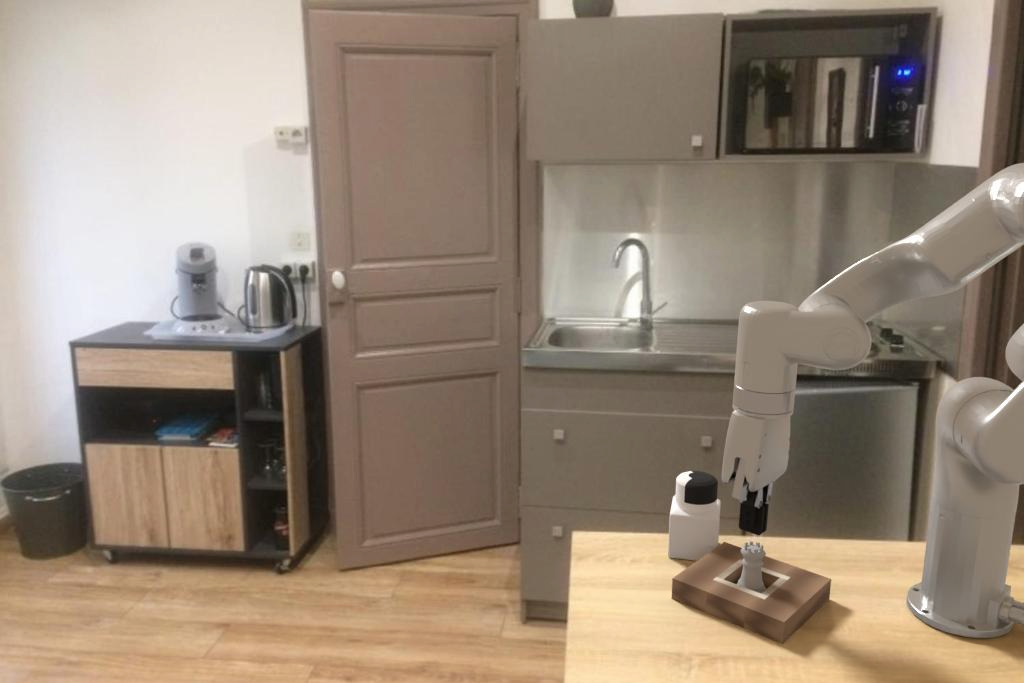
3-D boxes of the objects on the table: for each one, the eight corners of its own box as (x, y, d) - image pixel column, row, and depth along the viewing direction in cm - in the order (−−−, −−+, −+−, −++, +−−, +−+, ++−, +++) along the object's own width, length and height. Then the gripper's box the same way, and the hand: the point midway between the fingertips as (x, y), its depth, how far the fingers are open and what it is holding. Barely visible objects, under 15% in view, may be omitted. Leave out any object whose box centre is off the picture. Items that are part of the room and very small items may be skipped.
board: (829, 598, 119) (831, 578, 118) (782, 643, 109) (784, 622, 108) (723, 560, 130) (724, 541, 129) (671, 598, 120) (672, 578, 119)
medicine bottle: (718, 541, 135) (722, 468, 132) (717, 564, 129) (721, 487, 126) (671, 536, 137) (674, 464, 134) (667, 558, 130) (670, 483, 127)
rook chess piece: (768, 610, 117) (772, 555, 115) (733, 606, 117) (737, 552, 115) (765, 592, 121) (769, 539, 119) (732, 589, 122) (735, 536, 120)
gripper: (763, 380, 120) (753, 504, 125) (707, 405, 109) (698, 540, 114) (816, 392, 115) (803, 520, 120) (763, 419, 104) (751, 560, 109)
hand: (752, 530), depth 117 cm, fingers closed
